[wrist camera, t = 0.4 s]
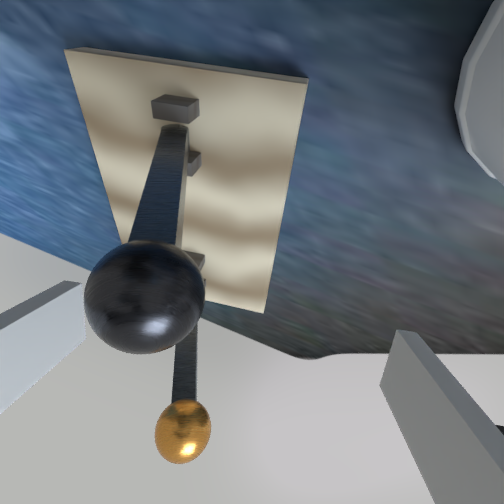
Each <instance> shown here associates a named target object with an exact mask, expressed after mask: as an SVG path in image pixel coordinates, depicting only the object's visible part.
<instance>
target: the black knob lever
mask: <svg viewBox="0 0 504 504" xmlns="http://www.w3.org/2000/svg"><path fill="white" fill-rule="evenodd" d="M189 151H190V139H189V128H188V127H187V126H184V125H180V124H169V125H164V126H162V127H161V133H160V136H159V139H158V143H157V146H156V149H155V153H154V156H153V159H152V163H151V166H150V169H149V173H148V176H147V179H146V183H145V186H144V189H143V193H142V196H141V199H140V203H139V206H138V210H137V213H136V216H135V220H134V223H133V226H132V230H131V233H130V236H129V240H128V243H125V244H122V245H120V246H118V247H116V248H115V249H113V250H111V251H110V252H108V253H107V254H106V255H105V256H104V257H103V258H101V260H100V261H99V262H98V263H97V264H96V266H95V267H94V268H93V270H92V272H91V274H90V276H89V278H88V280H87V283H86V287H85V292H84V307H85V313H86V317H87V319H88V321H89V324H90V326H91V327H92V329H93V331H94V332H95V333H96V334H97V336H98V337H99V338H100V339H102V340H103V341H104V342H105V343H107V344H108V345H110V346H111V347H113V348H115V349H117V350H120V351H123V352H126V353H131V354H151V353H156V352H160V351H163V350H166V349H168V348H170V347H172V346H174V345H175V344H177V343H179V342H180V341H181V340H183V339H184V338H185V337H186V336H187V335H188V334H189V333H190V332H191V331H192V330H193V328H194V327H195V325H196V324H197V322H198V320H199V319H200V316H201V314H202V311H203V308H204V303H205V284H204V279H203V276H202V273H201V271H200V269H199V267H198V266H197V264H196V263H195V261H194V260H193V259H192V258H191V257H190V256H189V255H188V254H187V253H186V252H185V251H183V250H182V249H181V248H182V235H183V222H184V208H185V195H186V182H187V169H188V156H189Z"/></svg>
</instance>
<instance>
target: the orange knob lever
mask: <svg viewBox="0 0 504 504" xmlns="http://www.w3.org/2000/svg"><path fill="white" fill-rule="evenodd" d="M210 433H211V421H210V417H209V414H208V412H207V410H206V409H205V407H204V406H203V405H202V404H200V403H199V402H197V324H196V325H195V327H194V328H193V330H192V331H191V332H190V333H189V334H188V335H187V336H186V337H185V338H184V339H183V340H181V341H180V342H179V343H177V344H176V348H175V361H174V376H173V389H172V403H171V404H170V405H169V406H168V407H167V408H166V409H165V410H164V411H163V412H162V414H161V415H160V417H159V420H158V421H157V424H156V429H155V442H156V446H157V449H158V451H159V453H160V454H161V455H162V456H163V458H164V459H166V460H167V461H169V462H171V463H175V464H183V463H187V462H190V461H192V460H194V459H195V458H197V457H198V456H199V455H200V454H201V453H202V451H203V450H204V449H205V447H206V445H207V443H208V441H209V438H210Z"/></svg>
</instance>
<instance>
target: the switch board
mask: <svg viewBox="0 0 504 504" xmlns="http://www.w3.org/2000/svg"><path fill="white" fill-rule="evenodd" d="M64 53H65V56H66V59H67V63H68V66H69V69H70V73H71V76H72V79H73V82H74V86H75V89H76V92H77V96H78V99H79V102H80V106H81V109H82V112H83V116H84V119H85V122H86V126H87V129H88V132H89V136H90V139H91V142H92V146H93V149H94V152H95V156H96V159H97V162H98V166H99V169H100V172H101V176H102V179H103V182H104V186H105V189H106V192H107V195H108V199H109V202H110V205H111V209H112V212H113V215H114V219H115V222H116V225H117V229H118V232H119V235H120V239H121V242H122V244H125V243H128V240H129V236H130V233H131V230H132V226H133V223H134V220H135V216H136V213H137V210H138V206H139V203H140V199H141V196H142V193H143V189H144V186H145V183H146V179H147V176H148V173H149V169H150V166H151V163H152V159H153V156H154V153H155V149H156V146H157V143H158V139H159V136H160V133H161V127H162V126H164V125H169V124H180V125H184V126H187V127H188V128H189V139H190V151H189V156H188V169H187V182H186V195H185V208H184V222H183V235H182V248H181V249H182V250H183V251H185V252H186V253H187V254H188V255H189V256H190V257H191V258H192V259H193V260H194V261H195V263H196V264H197V266H198V267H199V269H200V271H201V273H202V276H203V279H204V284H205V300H207V301H212V302H216V303H220V304H225V305H229V306H234V307H238V308H242V309H247V310H251V311H255V312H260V313H264V308H265V304H266V299H267V294H268V289H269V283H270V278H271V273H272V268H273V263H274V257H275V252H276V247H277V242H278V237H279V231H280V226H281V221H282V216H283V211H284V205H285V200H286V195H287V190H288V185H289V180H290V174H291V169H292V164H293V159H294V154H295V148H296V143H297V138H298V133H299V128H300V122H301V117H302V112H303V107H304V102H305V97H306V91H307V86H308V81H309V79H308V78H301V77H294V76H287V75H280V74H273V73H266V72H258V71H251V70H244V69H237V68H230V67H223V66H216V65H209V64H202V63H194V62H187V61H180V60H173V59H166V58H159V57H152V56H145V55H137V54H130V53H123V52H116V51H109V50H102V49H95V48H88V47H80V48H73V49H65V50H64Z"/></svg>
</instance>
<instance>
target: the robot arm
mask: <svg viewBox="0 0 504 504" xmlns="http://www.w3.org/2000/svg"><path fill="white" fill-rule="evenodd" d="M85 339H86V333H85V319H84V305H83V292H82V283H78V282H71V281H63V282H61V283H59V284H57V285H55V286H53V287H51V288H49V289H47V290H46V291H44V292H42V293H40V294H38V295H36V296H34V297H32V298H30V299H28V300H26V301H24V302H23V303H20V304H18V305H17V306H15V307H13V308H11V309H9V310H7V311H5V312H3V313H1V314H0V414H1V413H2V412H3V411H4V410H6V409H7V408H8V407H9V406H10V405H11V404H12V403H13V402H15V401H16V400H17V399H18V398H19V397H20V396H21V395H23V394H24V393H25V392H26V391H27V390H28V389H29V388H30V387H32V386H33V385H34V384H35V383H36V382H37V381H39V380H40V379H41V378H42V377H43V376H44V375H45V374H46V373H47V372H49V371H50V370H51V369H52V368H53V367H54V366H55V365H57V364H58V363H59V362H60V361H61V360H62V359H64V358H65V357H66V356H67V355H68V354H69V353H70V352H71V351H73V350H74V349H75V348H76V347H77V346H78V345H79V344H81V343H82V342H83V341H84V340H85ZM380 387H381V389H382V392H383V394H384V396H385V397H386V400H387V402H388V404H389V407H390V409H391V411H392V413H393V415H394V417H395V419H396V421H397V423H398V426H399V428H400V430H401V432H402V434H403V436H404V439H405V440H406V443H407V445H408V447H409V449H410V451H411V453H412V455H413V458H414V459H415V462H416V464H417V466H418V468H419V470H420V472H421V475H422V477H423V479H424V481H425V483H426V485H427V487H428V490H429V492H430V494H431V496H432V498H433V500H434V502H435V504H504V426H499V425H495V424H494V423H493V422H492V421H491V420H490V418H489V417H488V416H487V415H486V414H485V413H484V411H483V410H482V409H481V408H480V407H479V405H478V404H477V403H476V402H475V401H474V400H473V398H472V397H471V396H470V395H469V394H468V393H467V391H466V390H465V389H464V388H463V387H462V385H461V384H460V383H459V382H458V381H457V380H456V378H455V377H454V376H453V375H452V374H451V373H450V372H449V370H448V369H447V368H446V367H445V365H444V364H443V363H442V362H441V361H440V360H439V358H438V357H437V356H436V355H435V354H434V352H433V351H432V350H431V349H430V348H429V347H428V345H427V344H426V343H425V342H424V341H423V340H422V338H421V337H420V336H419V335H418V334H417V333H416V332H410V331H403V330H397V331H396V334H395V337H394V340H393V344H392V347H391V350H390V353H389V357H388V360H387V363H386V367H385V370H384V373H383V377H382V379H381V382H380Z"/></svg>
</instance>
